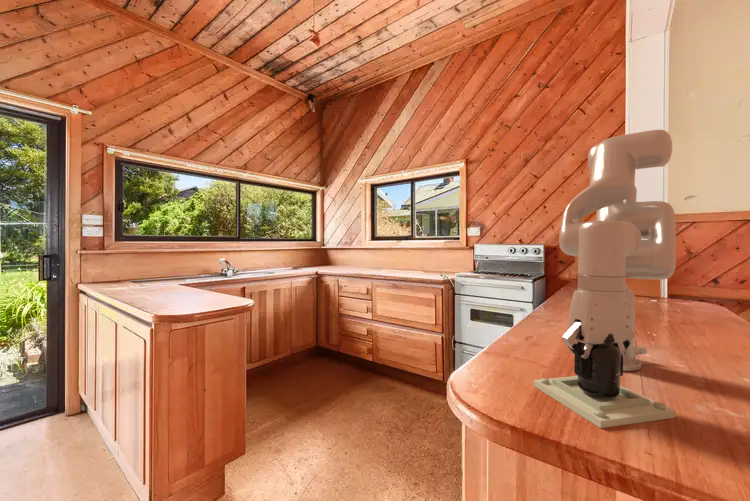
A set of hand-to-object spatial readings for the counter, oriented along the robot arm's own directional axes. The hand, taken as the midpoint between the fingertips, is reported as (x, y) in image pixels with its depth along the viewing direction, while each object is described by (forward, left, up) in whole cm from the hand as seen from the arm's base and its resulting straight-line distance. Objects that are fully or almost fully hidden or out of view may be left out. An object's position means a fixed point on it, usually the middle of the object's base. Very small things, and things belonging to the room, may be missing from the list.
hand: (598, 374), depth 63 cm
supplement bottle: (0, 0, -3) cm, 3 cm away
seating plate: (0, 0, -5) cm, 5 cm away
